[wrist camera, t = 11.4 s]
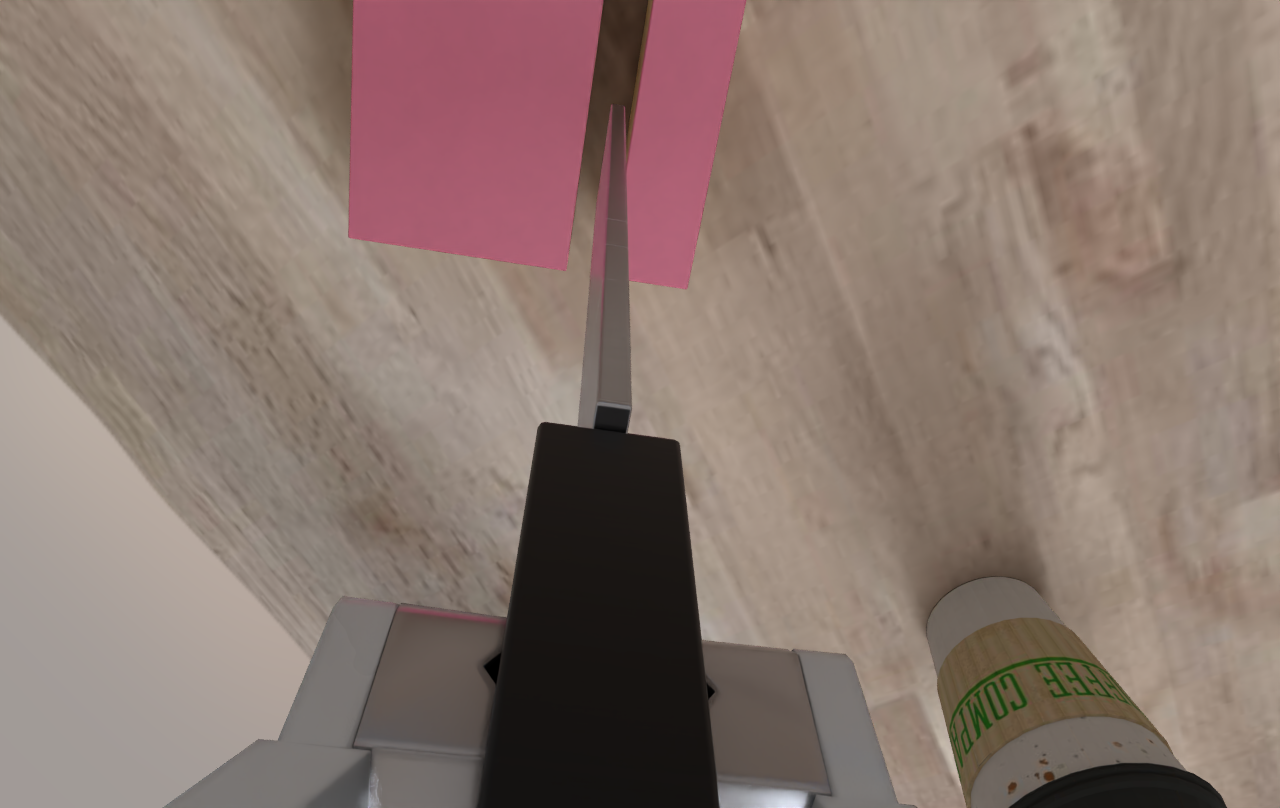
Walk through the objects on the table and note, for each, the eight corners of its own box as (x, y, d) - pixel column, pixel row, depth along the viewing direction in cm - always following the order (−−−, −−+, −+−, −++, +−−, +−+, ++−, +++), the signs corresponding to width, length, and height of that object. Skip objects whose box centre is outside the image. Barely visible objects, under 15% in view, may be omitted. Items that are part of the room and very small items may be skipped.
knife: (576, 203, 27) (389, 1421, 5) (589, 99, 26) (418, 1167, 4) (629, 211, 27) (663, 1431, 5) (645, 109, 26) (789, 1188, 4)
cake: (373, 207, 37) (347, 238, 33) (384, -120, 32) (355, -124, 28) (571, 237, 38) (566, 271, 34) (614, -76, 32) (613, -75, 29)
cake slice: (609, 243, 38) (608, 277, 34) (659, -68, 33) (664, -66, 29) (681, 255, 38) (687, 290, 35) (741, -53, 33) (756, -48, 29)
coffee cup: (1029, 514, 45) (1200, 767, 32) (1112, 634, 49) (1297, 905, 35) (856, 612, 47) (947, 882, 34) (947, 718, 51) (1062, 999, 38)
